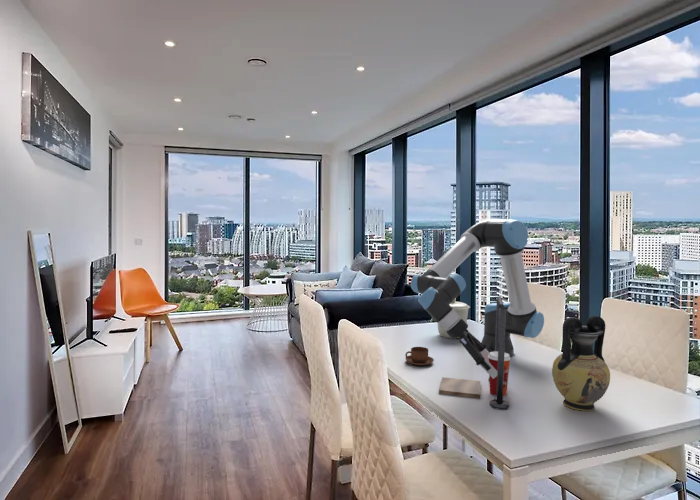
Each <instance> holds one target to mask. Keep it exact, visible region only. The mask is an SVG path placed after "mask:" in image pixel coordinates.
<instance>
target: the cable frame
mask: <svg viewBox="0 0 700 500" xmlns="http://www.w3.org/2000/svg"><path fill="white" fill-rule="evenodd" d="M496 303H497V308H496V339H495V351H497V352H498V368H497V395H496V399H491V400H490V401H489V406H490V407H491V408H493V409H496V410H500V411H501V410H502V411H503V410H509V408H510V403H509V402H508V401H506V400H504V396H503V382H504V352H505V323H506V309H504V305H503V303H504V302H503V298H502V296H498V297H496Z"/></svg>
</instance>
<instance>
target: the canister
mask: <svg viewBox="0 0 700 500" xmlns="http://www.w3.org/2000/svg"><path fill="white" fill-rule="evenodd" d="M456 300H457V298H455V299H454V300H453V301H452V302H451V303H450V304H449V305H450V306H451V307H452V308H453V309H454V310H455V311H456V312H457V314H458V315H459V316H460V319H463V320H464V321H465V322H466V323H467V324H468V317H469V316H468V315H469V310H470V308H471V306H470V305H468V304H467V303H465V302H461V301H456ZM436 323H437V330H438V334H439V336H441V337H443V338H446V339H452V338H451V337H450V336H449V335H448V334H447V330H444V329H443V328H442V327H439V326H438V325H439V324H438V322H436ZM456 339H460V338H459V337H457V338H456Z"/></svg>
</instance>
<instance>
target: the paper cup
mask: <svg viewBox="0 0 700 500" xmlns="http://www.w3.org/2000/svg"><path fill="white" fill-rule="evenodd" d="M488 358H489V363H490V364H491V365H492V366H493V367H494V368H495V369H496V370H497V368H498V352H497V351H495V352H490V353H489V355H488ZM511 360H512V358H511V356H510V355H509V354H508V353H504V382H503V397H504V396H507V393H508V391H507V390H508V384H509V383H508V381H509V371H510V364H511V363H510V361H511ZM488 376H489V377H488V383H489V393H490V394H491V395H494V396H497V376H496V377H495V378H494V379H493V378H492V377H491V376H490V375H489V374H488Z"/></svg>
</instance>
